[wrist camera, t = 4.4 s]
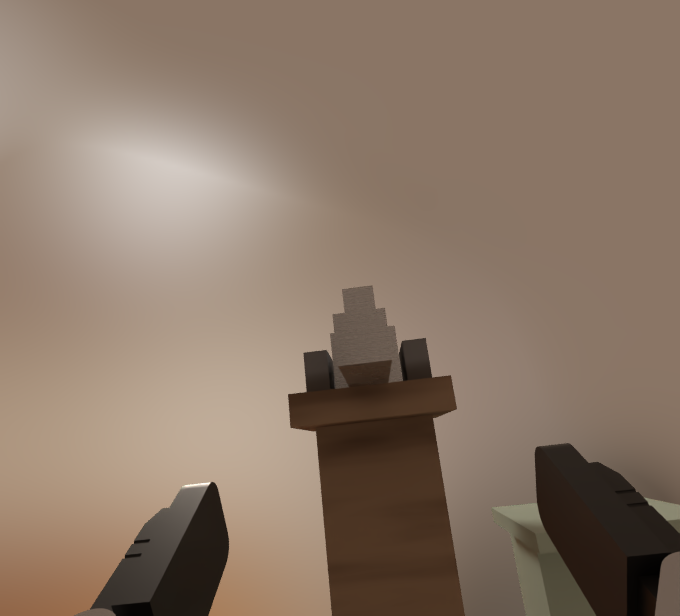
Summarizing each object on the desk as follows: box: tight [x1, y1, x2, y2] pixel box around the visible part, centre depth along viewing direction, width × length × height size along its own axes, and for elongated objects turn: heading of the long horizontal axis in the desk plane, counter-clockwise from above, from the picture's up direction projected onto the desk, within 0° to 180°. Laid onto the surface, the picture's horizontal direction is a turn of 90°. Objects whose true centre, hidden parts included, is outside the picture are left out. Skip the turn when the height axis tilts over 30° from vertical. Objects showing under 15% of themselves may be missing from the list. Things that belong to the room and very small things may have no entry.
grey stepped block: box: [330, 286, 402, 389], centre depth 29 cm, size 16×4×8 cm, turn 175°
